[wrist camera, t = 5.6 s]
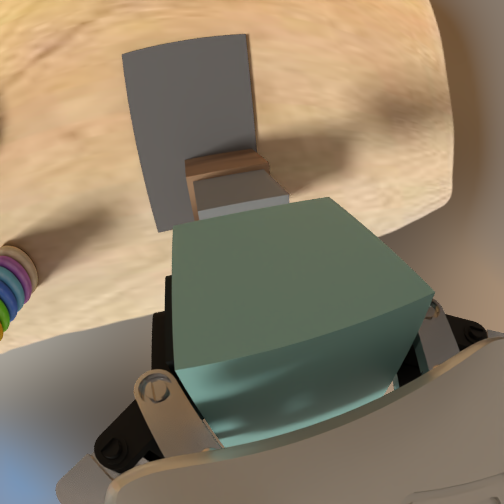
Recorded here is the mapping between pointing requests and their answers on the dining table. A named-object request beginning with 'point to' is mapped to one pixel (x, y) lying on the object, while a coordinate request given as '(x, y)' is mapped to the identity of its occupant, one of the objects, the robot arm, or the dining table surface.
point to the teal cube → (288, 317)
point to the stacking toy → (14, 283)
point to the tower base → (221, 168)
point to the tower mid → (237, 193)
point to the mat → (187, 113)
